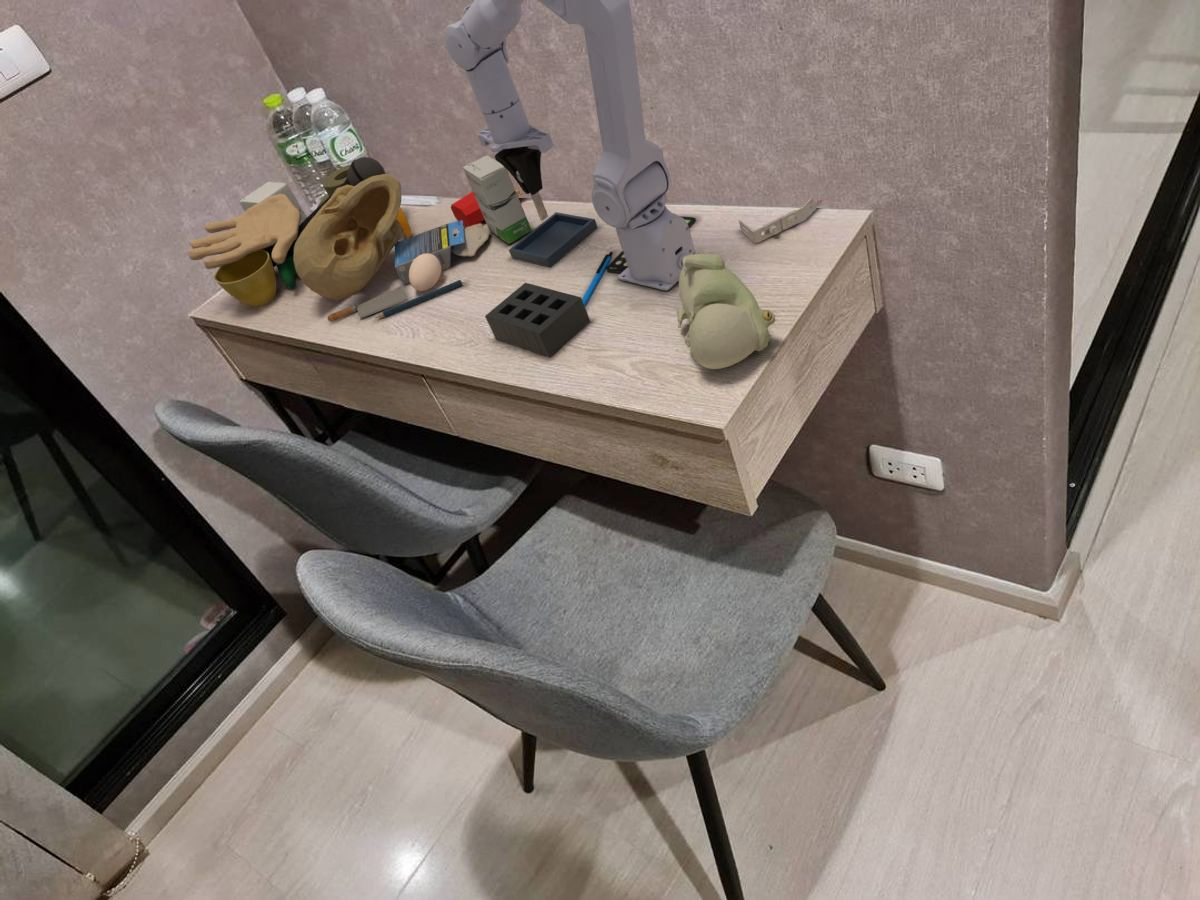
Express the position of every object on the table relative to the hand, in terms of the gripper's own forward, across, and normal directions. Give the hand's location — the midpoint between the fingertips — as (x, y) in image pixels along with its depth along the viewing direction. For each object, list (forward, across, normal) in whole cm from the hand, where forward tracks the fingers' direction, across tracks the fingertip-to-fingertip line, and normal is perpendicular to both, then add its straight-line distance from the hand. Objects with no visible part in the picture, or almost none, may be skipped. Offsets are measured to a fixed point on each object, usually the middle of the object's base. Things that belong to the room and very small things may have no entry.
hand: (534, 190), depth 129 cm
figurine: (+4, +39, -14) cm, 42 cm away
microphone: (+3, -46, -19) cm, 50 cm away
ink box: (+9, -12, +1) cm, 15 cm away
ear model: (-5, -20, -16) cm, 26 cm away
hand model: (-2, -46, -17) cm, 49 cm away
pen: (+10, +16, -8) cm, 21 cm away
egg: (+6, -15, -13) cm, 21 cm away
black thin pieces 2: (+3, -55, -31) cm, 63 cm away
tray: (+9, 0, 0) cm, 9 cm away
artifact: (+8, -19, -2) cm, 21 cm away
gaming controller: (+10, -44, -22) cm, 50 cm away
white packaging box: (+10, -58, -17) cm, 61 cm away
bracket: (+8, +39, +22) cm, 46 cm away
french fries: (+7, -23, -1) cm, 24 cm away
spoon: (+5, 0, 0) cm, 5 cm away
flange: (0, -37, -7) cm, 37 cm away
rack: (+9, +16, -18) cm, 25 cm away
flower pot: (+9, -48, -31) cm, 58 cm away
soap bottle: (+7, -56, -8) cm, 57 cm away
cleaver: (+9, -18, -26) cm, 33 cm away
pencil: (+9, -8, -14) cm, 18 cm away
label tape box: (+7, -23, -15) cm, 29 cm away
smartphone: (+10, +18, +4) cm, 20 cm away
